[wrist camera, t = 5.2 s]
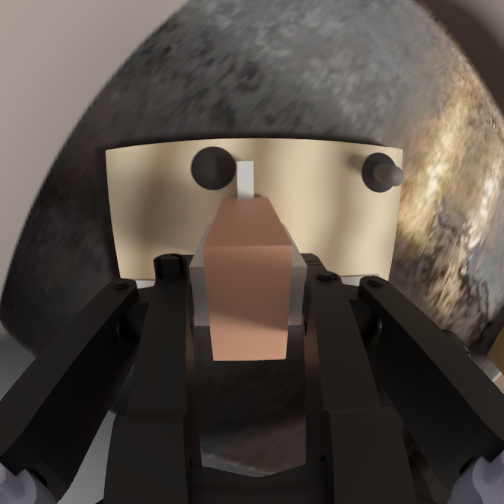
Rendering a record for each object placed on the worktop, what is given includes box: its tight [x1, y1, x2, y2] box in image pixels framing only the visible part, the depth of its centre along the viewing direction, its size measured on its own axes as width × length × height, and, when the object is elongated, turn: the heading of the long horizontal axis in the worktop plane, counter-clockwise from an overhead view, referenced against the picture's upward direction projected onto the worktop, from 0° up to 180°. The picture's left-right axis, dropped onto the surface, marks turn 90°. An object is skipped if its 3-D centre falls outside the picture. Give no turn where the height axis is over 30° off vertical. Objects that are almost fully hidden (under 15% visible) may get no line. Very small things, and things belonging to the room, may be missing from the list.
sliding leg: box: [203, 161, 293, 361], centre depth 15 cm, size 3×8×10 cm, turn 0°
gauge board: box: [106, 138, 404, 288], centre depth 20 cm, size 22×13×4 cm, turn 90°
